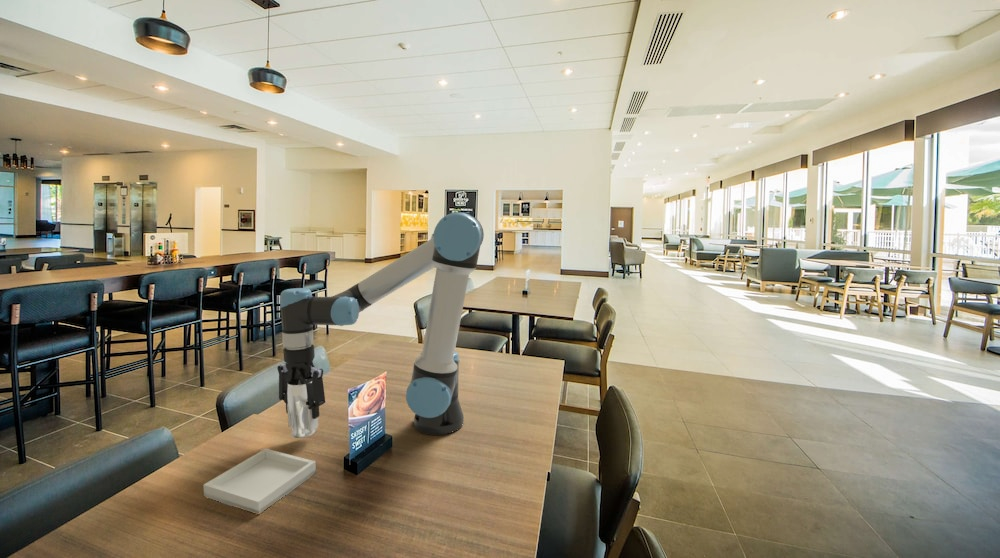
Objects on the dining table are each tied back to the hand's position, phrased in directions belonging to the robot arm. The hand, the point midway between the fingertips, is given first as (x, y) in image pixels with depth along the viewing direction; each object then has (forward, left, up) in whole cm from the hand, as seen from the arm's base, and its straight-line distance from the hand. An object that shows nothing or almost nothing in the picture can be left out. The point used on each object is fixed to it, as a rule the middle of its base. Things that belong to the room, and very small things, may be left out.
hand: (303, 426), depth 115 cm
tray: (-6, +18, -5) cm, 20 cm away
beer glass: (0, 0, -2) cm, 2 cm away
